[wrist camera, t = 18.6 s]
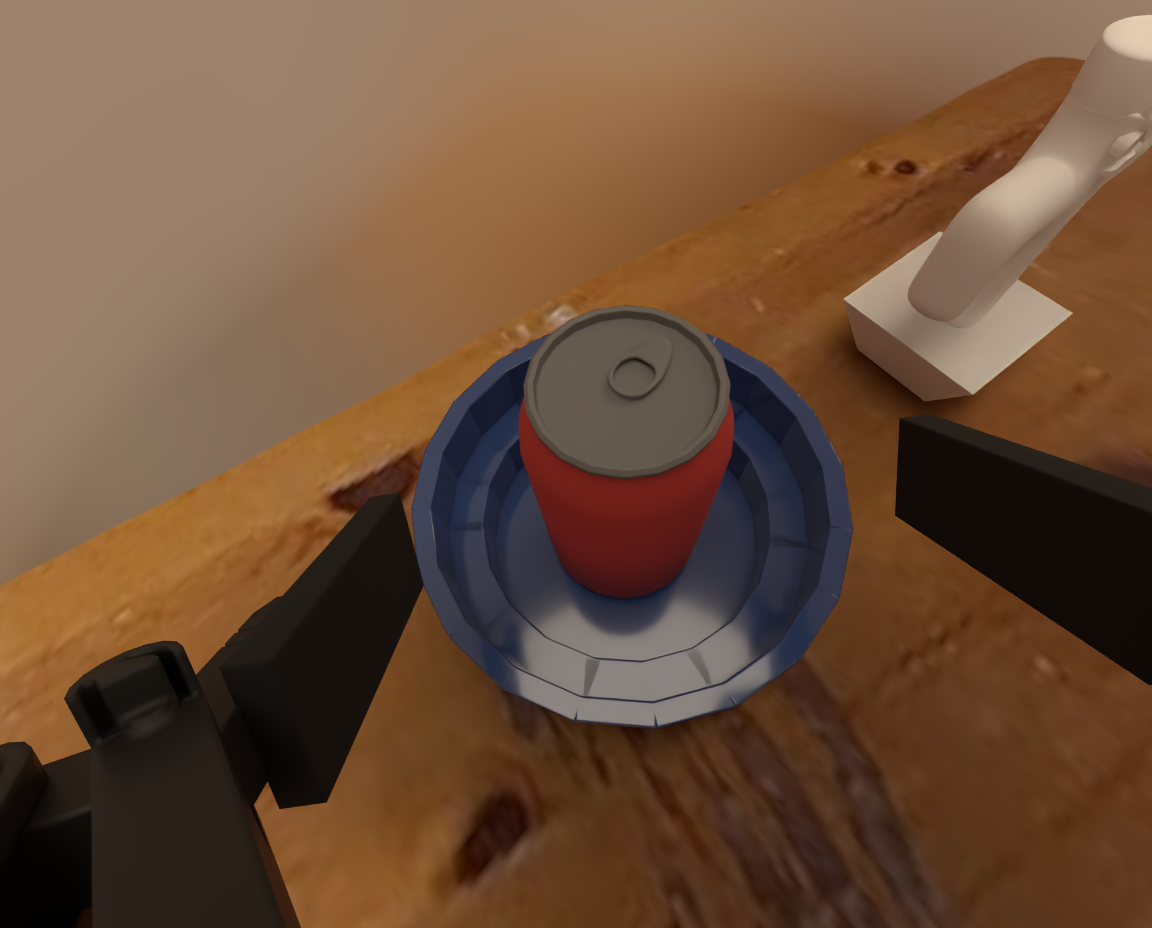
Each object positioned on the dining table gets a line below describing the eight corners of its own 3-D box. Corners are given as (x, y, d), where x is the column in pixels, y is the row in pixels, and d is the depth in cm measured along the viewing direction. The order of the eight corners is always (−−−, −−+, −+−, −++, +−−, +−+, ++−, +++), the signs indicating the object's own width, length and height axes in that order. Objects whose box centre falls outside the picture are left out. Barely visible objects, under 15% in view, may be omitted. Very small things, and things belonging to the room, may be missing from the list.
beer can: (721, 517, 25) (798, 358, 14) (638, 632, 23) (656, 547, 12) (608, 444, 27) (602, 257, 16) (524, 543, 25) (453, 404, 14)
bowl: (870, 509, 25) (931, 456, 20) (660, 826, 20) (674, 857, 15) (598, 341, 31) (595, 267, 26) (382, 558, 26) (326, 518, 21)
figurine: (804, 356, 29) (959, 44, 16) (918, 274, 31) (1141, -65, 18) (914, 447, 27) (1216, 159, 13) (1033, 350, 29) (1399, 15, 15)
